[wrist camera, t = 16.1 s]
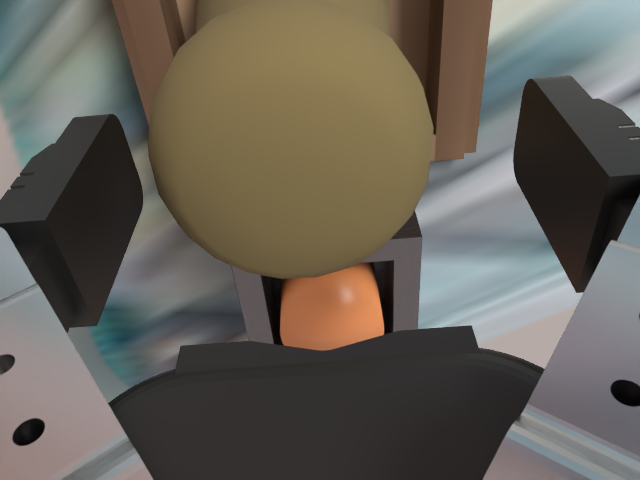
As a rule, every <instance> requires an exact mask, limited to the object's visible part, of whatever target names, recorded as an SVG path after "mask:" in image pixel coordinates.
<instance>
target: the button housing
mask: <svg viewBox="0 0 640 480" xmlns="http://www.w3.org/2000/svg"><path fill="white" fill-rule="evenodd" d="M421 250H422V235H421V231H420V227H419V224H418V220H417V217H416V213H415V210H414V212H413V214H412V216H411V217H410V218H409V219H408V220H407V222H406V223H405V224H404V225H403V226H402V227H401V228H400V229H399V230H398V231H397V233H396V234H395V235H394V236H393V237H392V238H391V239H390V240H389V241H388V242H387V243H386V244H385V245H384V246H383V247H382V248H381V249H380V250H379V251H377V252H376V253H374V254H372V255H371V256H369V257H367V258H366V259H364V260H362V261H360V262H359V263H365V262H374V267H375V273H376V279H377V285H378V291H379V297H380V303H381V309H382V316H383V322H384V335H385V334H389V333H392V332H396V331H400V330H415V329H418V311H419V291H420V271H421ZM231 267H232V271H233V275H234V280H235V284H236V288H237V292H238V297H239V301H240V305H241V309H242V314H243V318H244V322H245V326H246V331H247V335H248V339H249V341H255V342H262V343H269V344H276V345H284V344H283V342H282V340H281V337H280V318H281V285H282V279H280V278H275V277H269V276H264V275H259V274H253V273H248V272H245V271H243V270H241V269H238V268H236V267H234V266H232V265H231Z"/></svg>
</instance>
